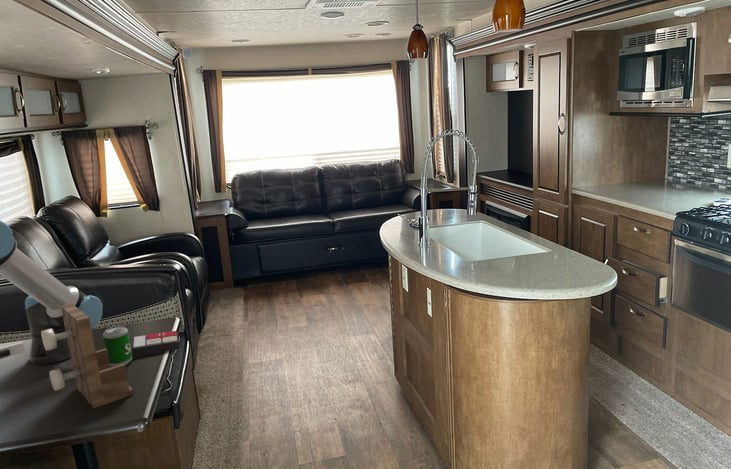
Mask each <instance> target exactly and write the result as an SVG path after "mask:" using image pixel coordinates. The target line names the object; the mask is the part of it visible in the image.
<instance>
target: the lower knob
mask: <svg viewBox="0 0 731 469" xmlns="http://www.w3.org/2000/svg"><path fill="white" fill-rule="evenodd" d="M80 375H82V374H81V369H79V370H75V371H73V370H72V371H69V372H66V373H62V370H61V369H60V368H55V369H53V370H50V371H49V379H50V380H49V381H50V382H51V387H52V389H53V391H55V392H56V391H58V390H62V389H65V388H66V383H65V381H68V380H70V379H75V377H77V376H80Z"/></svg>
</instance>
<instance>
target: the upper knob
mask: <svg viewBox="0 0 731 469" xmlns="http://www.w3.org/2000/svg"><path fill="white" fill-rule="evenodd" d="M41 335H42V340H43V344H44V347H45V349H46V351H48V350H51V349H55V348H57V342H56V341H58V340H62V339H65V338H69V337H72V336H74V332H73V330H70V331H66V332H63V333H59V334H54V331H53V329H48V330H44V331H41Z"/></svg>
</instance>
